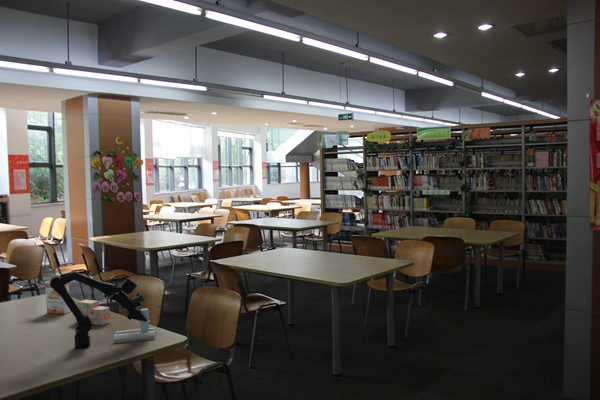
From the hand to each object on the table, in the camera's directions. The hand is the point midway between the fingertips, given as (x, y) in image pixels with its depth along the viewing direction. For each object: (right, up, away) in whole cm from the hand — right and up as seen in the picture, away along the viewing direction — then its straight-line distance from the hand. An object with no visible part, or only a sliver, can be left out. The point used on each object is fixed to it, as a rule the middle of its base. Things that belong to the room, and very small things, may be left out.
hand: (147, 319), depth 259 cm
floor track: (-6, -9, -1) cm, 11 cm away
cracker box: (-75, -10, +57) cm, 94 cm away
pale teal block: (-1, -7, 0) cm, 7 cm away
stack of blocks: (-42, -10, +32) cm, 54 cm away
